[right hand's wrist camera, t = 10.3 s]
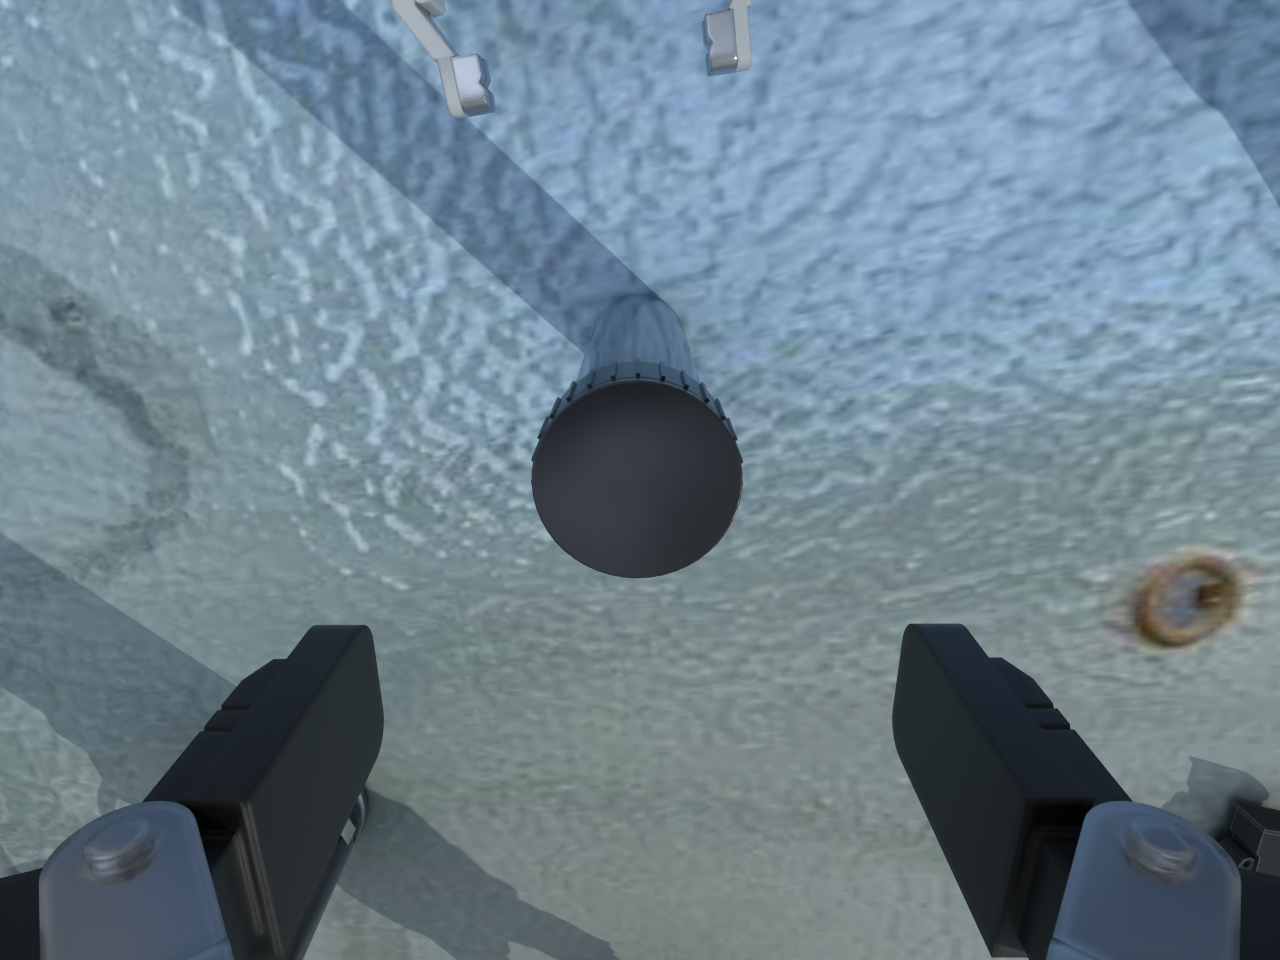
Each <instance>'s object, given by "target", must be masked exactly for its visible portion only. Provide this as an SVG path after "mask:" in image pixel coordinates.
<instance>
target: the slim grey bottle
mask: <svg viewBox="0 0 1280 960" xmlns="http://www.w3.org/2000/svg"><path fill="white" fill-rule="evenodd" d="M636 359H640V362H652V363H657V364H659V363H660V361H661V362H664V365H665V366H668V367H671V368H674V369H677V370H679V371H681V370H682V369H683V370H685V371H686V374H687V375H688V376H690V377H691V378H693V379H694V380H696V381H697V382H698V383H700V379H699V376H698V373H697V370H696V367H695V364H694V361H693V358H692V355H691V352H690V348H689V345H688V342H687V339H686V336H685V333H684V330H683V327H682V324H681V322H680V319H679V318H678V316H677V315H676V313H675V312H674V311H673V309H672V308H670V307H669V306H668V305H667V304H666V303H664V302H663V301H661V300H659V299H657V298H655V297H652V296H648V295H629V296H625V297H622V298H620V299H618V300H616V301H614V302H613V303H611V304H610V305H609V306H608V307H606V308H605V310H604V311H603V312H602V313H601V315H600V316H599V318H598V320H597V322H596V324H595V327H594V330H593V333H592V335H591V338H590V341H589V344H588V347H587V350H586V353H585V356H584V359H583V362H582V364H581V367H580V370H579V373H578V376H577V379H576V382H577V381H579V380H580V379H582V378H583V377H585V376H586V375H588V374H590V370H592V369H595V371H596V370H598V369H600V368H603V367H606V366H609V365H612V363H613V362H614V361H617V364H618V363H623V362H636Z"/></svg>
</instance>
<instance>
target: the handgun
mask: <svg viewBox="0 0 1280 960" xmlns="http://www.w3.org/2000/svg"><path fill="white" fill-rule="evenodd" d="M1232 805H1233V806H1234V807H1235V808H1236V811H1235V814H1234V817H1233V821H1232V824H1231V827H1230V830H1231V831H1232V833H1233V835H1232V838H1229V837H1228V838H1225V839H1222V840H1221V842H1220V843H1219V844H1220V845H1221V846H1222V847H1223V848H1224V849H1225V851H1226V852H1227V853H1228V854H1229V855H1230V857H1231V858H1232V860H1233V861H1234V863H1235V864H1236V866H1237V867H1240V868H1244V869H1248V870H1252V871H1256V872H1260V873H1265V874H1269V875H1273V876H1277V877H1280V811H1279V810H1275V809H1270V808H1265V807H1260V806H1255V805H1249V804H1244V803H1239V802H1233V804H1232Z"/></svg>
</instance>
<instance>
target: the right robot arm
mask: <svg viewBox="0 0 1280 960" xmlns="http://www.w3.org/2000/svg"><path fill="white" fill-rule="evenodd" d="M892 723H893V734H894V740H895V745H896V749H897V752H898V755H899V757H900V759H901V762H902V764H903V766H904V768H905V770H906V772H907V775H908V777H909V779H910V781H911V783H912V785H913V788H914V790H915V792H916V794H917V796H918V798H919V801H920V803H921V805H922V807H923V809H924V811H925V814H926V816H927V818H928V820H929V822H930V824H931V827H932V829H933V831H934V833H935V835H936V837H937V840H938V842H939V844H940V846H941V848H942V850H943V853H944V855H945V857H946V859H947V861H948V863H949V866H950V868H951V870H952V872H953V874H954V876H955V879H956V881H957V883H958V885H959V887H960V889H961V892H962V894H963V896H964V898H965V900H966V902H967V905H968V907H969V909H970V911H971V913H972V915H973V918H974V920H975V922H976V924H977V926H978V928H979V931H980V933H981V935H982V937H983V939H984V941H985V944H986V946H987V948H988V950H989V952H990V954H991V957H1028V958H1029V960H1280V877H1277V876H1273V875H1269V874H1265V873H1260V872H1256V871H1252V870H1248V869H1244V868H1240V867H1237V866H1236V864H1235V863H1234V861H1233V860H1232V858H1231V857H1230V855H1229V854H1228V853H1227V852H1226V851H1225V849H1224V848H1223V847H1222V846H1221V845H1220V844H1219V843H1218V842H1216V841H1215V840H1214V839H1213V838H1212V837H1211V836H1209V835H1208V834H1207V833H1206V832H1204V831H1203V830H1202V829H1200V828H1198V827H1197V826H1195V825H1194V824H1192V823H1191V822H1189V821H1187V820H1185V819H1183V818H1181V817H1179V816H1177V815H1175V814H1173V813H1170V812H1168V811H1166V810H1163V809H1160V808H1157V807H1154V806H1150V805H1146V804H1142V803H1137V802H1133V801H1132V800H1131V799H1130V798H1129V796H1128V795H1127V794H1126V793H1125V791H1124V790H1123V789H1122V788H1121V787H1120V785H1119V784H1118V783H1117V782H1116V780H1115V779H1114V778H1113V777H1112V775H1111V774H1110V773H1109V772H1108V771H1107V769H1106V768H1105V767H1104V766H1103V764H1102V763H1101V762H1100V761H1099V759H1098V758H1097V757H1096V756H1095V755H1094V753H1093V752H1092V751H1091V750H1090V748H1089V747H1088V746H1087V745H1086V743H1085V742H1084V741H1083V740H1082V738H1081V737H1080V736H1079V735H1078V734H1077V732H1076V731H1075V730H1071V729H1070V724H1069V722H1068V721H1067V720H1066V719H1065V718H1064V716H1063V715H1062V714H1061V713H1060V711H1059V710H1058V709H1054V708H1053V703H1052V702H1051V700H1050V699H1049V698H1048V697H1047V695H1046V694H1045V693H1044V692H1043V690H1042V689H1041V688H1040V687H1039V686H1038V684H1037V683H1036V682H1035V681H1034V679H1033V678H1031V677H1030V676H1028V675H1027V674H1025V673H1024V672H1022V671H1021V670H1019V669H1018V668H1016V667H1015V666H1013V665H1012V664H1010V663H1009V662H1007V661H1006V660H1004V659H1003V658H989V657H988V656H987V655H986V653H985V652H984V651H983V649H982V648H981V647H980V645H979V644H978V643H977V641H976V640H975V639H974V637H973V636H972V635H971V633H970V632H969V631H968V629H967V628H966V627H965V626H964V625H962V624H909V625H908V626H907V627H906V629H905V631H904V635H903V640H902V647H901V654H900V662H899V669H898V676H897V683H896V691H895V698H894V705H893V715H892ZM383 727H384V714H383V706H382V699H381V692H380V684H379V677H378V670H377V663H376V656H375V649H374V642H373V636H372V633H371V631H370V629H369V627H368V626H366V625H314V626H312V627H311V628H310V629H309V630H308V631H307V633H306V634H305V635H304V637H303V638H302V639H301V641H300V642H299V643H298V645H297V646H296V647H295V649H294V650H293V651H292V652H291V654H290V655H289V656H288V658H287V659H273V660H272V661H270V662H269V663H267V664H266V665H264V666H263V667H261V668H260V669H258V670H257V671H255V672H254V673H252V674H251V675H249V676H248V677H246V678H245V679H243V680H242V681H241V682H240V684H239V685H238V686H237V687H236V688H235V690H234V691H233V692H232V693H231V694H230V696H229V697H228V698H227V699H226V701H225V702H224V703H223V704H222V709H221V710H217V712H216V713H215V714H214V715H213V716H212V718H211V719H210V720H209V721H208V723H207V724H206V725H205V729H204V732H199V734H198V735H197V736H196V737H195V738H194V740H193V741H192V742H191V743H190V745H189V746H188V747H187V748H186V749H185V751H184V752H183V753H182V754H181V756H180V757H179V758H178V759H177V760H176V762H175V763H174V764H173V765H172V767H171V768H170V769H169V770H168V771H167V773H166V774H165V775H164V776H163V777H162V779H161V780H160V781H159V782H158V784H157V785H156V786H155V787H154V788H153V790H152V791H151V792H150V793H149V795H148V796H147V797H146V798H145V799H144V801H143V802H142V803H138V804H134V805H130V806H126V807H123V808H120V809H117V810H114V811H112V812H110V813H107V814H105V815H103V816H101V817H99V818H97V819H95V820H93V821H91V822H89V823H88V824H86V825H85V826H83V827H82V828H80V829H78V830H77V831H76V832H74V833H73V834H72V835H71V836H69V837H68V838H67V839H66V840H65V841H64V842H62V843H61V844H60V845H59V846H58V847H57V848H56V849H55V851H54V852H53V853H52V854H51V855H50V857H49V858H48V860H47V861H46V863H45V864H44V866H43V868H40V869H36V870H33V871H29V872H25V873H21V874H16V875H12V876H8V877H4V878H0V960H303V958H304V956H305V954H306V952H307V949H308V947H309V945H310V942H311V940H312V938H313V936H314V933H315V931H316V929H317V927H318V924H319V922H320V920H321V918H322V915H323V913H324V911H325V909H326V906H327V904H328V902H329V900H330V897H331V895H332V893H333V891H334V888H335V886H336V884H337V881H338V879H339V877H340V875H341V873H342V870H343V868H344V866H345V864H346V861H347V859H348V857H349V854H350V852H351V850H352V848H353V845H354V844H355V843H356V841H357V840H358V838H359V836H360V833H361V831H362V829H363V827H364V824H365V822H366V818H367V813H368V801H367V796H366V792H365V789H364V785H365V782H366V780H367V778H368V776H369V774H370V772H371V770H372V767H373V765H374V763H375V761H376V759H377V756H378V754H379V751H380V747H381V742H382V737H383Z"/></svg>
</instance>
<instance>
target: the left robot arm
mask: <svg viewBox="0 0 1280 960" xmlns="http://www.w3.org/2000/svg"><path fill="white" fill-rule="evenodd" d="M752 1H753V0H730V3H729V5H728V8H727V10H725V11H720V12H715V13H710V14H705V17H704V21H703V22H702V33H703V43H704V46H705V47H706V48H707V50H708V53H707V55H706V58H705V62H706V70H707V75H708V76H715V75H722V74H729V73H736V72H741V71H746V70H748V69H749V67H750V66H751V45H750V33H749V22H748V9H749V8H750V6H751V3H752ZM391 3H392V7H393V9H394V11H395V12H396V13H397V15H398V16H399V17H400V18H401V20H402V21H403V22H404V23H405V25H406V26H407V27H408V28H409V30H410V31H411V32H412V34H413V35H414V36H415V37H416V39H417V40H418V41H419V42H420V44H421V45H422V46H423V47H424V49H425V50H426V51H427V53H428V54H429V55H430V56H431V58H432V59H433V60H434V61H436V62H437V63H438V67H439V72H440V76H441V81H442V86H443V90H444V95H445V99H446V104H447V107H448V110H449V112H450V115H451V116H452V117H455V118H457V119H460V118H465V117H472V116H477V115H482V114H488V113H493V112H495V101H494V95H493V94H492V92H491V91H490V90H489V89H488V87H489V84H490V82H491V80H490V75H489V70H488V65H487V61H485V60H484V59H481V56H480V55H479V54H470V55H464V56H459V55H458V53H457V52H456V51H455V49H454V48H453V47H452V45H451V44H450V43H449V42H448V40H447V39H446V38H445V36H444V35H443V34H442V32H441V31H440V30H439V28H438V27H437V26H436V24H435V23H434V22H433V20H432V19H431V16H430V14H431V15H433V16H434V17H435V16H441V15H444V13H445V12H446V10H445V5H444V0H391Z"/></svg>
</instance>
